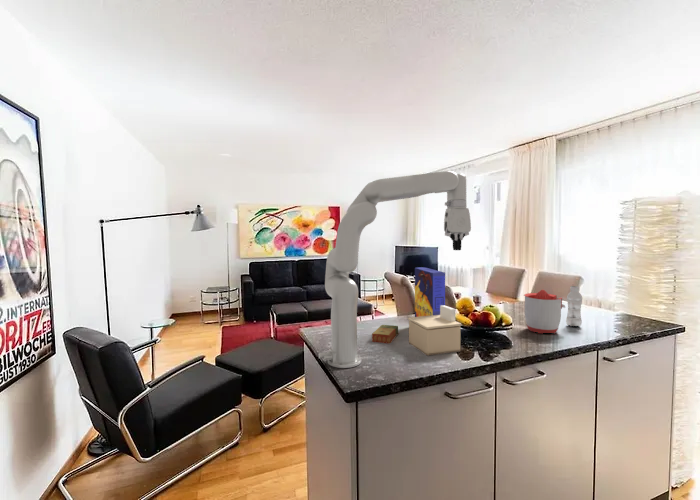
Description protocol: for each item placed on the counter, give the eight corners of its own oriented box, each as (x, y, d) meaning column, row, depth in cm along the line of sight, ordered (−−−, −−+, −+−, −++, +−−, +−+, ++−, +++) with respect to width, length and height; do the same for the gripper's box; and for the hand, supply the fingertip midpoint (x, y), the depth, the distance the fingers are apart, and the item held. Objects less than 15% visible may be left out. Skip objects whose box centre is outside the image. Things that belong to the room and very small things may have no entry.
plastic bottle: (562, 325, 171) (563, 286, 170) (572, 324, 173) (573, 285, 172) (574, 329, 165) (575, 288, 164) (585, 327, 167) (586, 287, 166)
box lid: (426, 329, 130) (426, 314, 130) (408, 319, 145) (408, 306, 145) (461, 325, 135) (461, 311, 135) (439, 316, 150) (440, 303, 150)
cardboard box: (427, 355, 131) (427, 330, 131) (409, 343, 146) (409, 320, 145) (460, 351, 136) (460, 326, 135) (439, 340, 150) (439, 317, 150)
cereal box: (414, 326, 173) (414, 267, 171) (426, 325, 174) (426, 267, 172) (432, 339, 151) (432, 272, 150) (444, 338, 152) (445, 272, 151)
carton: (371, 342, 149) (371, 333, 149) (381, 332, 164) (381, 323, 164) (390, 344, 146) (389, 334, 146) (398, 334, 161) (398, 325, 161)
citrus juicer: (571, 336, 153) (572, 292, 152) (530, 335, 156) (531, 292, 155) (556, 327, 168) (557, 287, 167) (519, 326, 171) (519, 286, 170)
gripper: (445, 204, 133) (446, 251, 134) (478, 204, 137) (478, 249, 138) (435, 205, 140) (436, 250, 141) (466, 205, 144) (467, 248, 145)
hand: (457, 250), depth 139 cm, fingers closed
